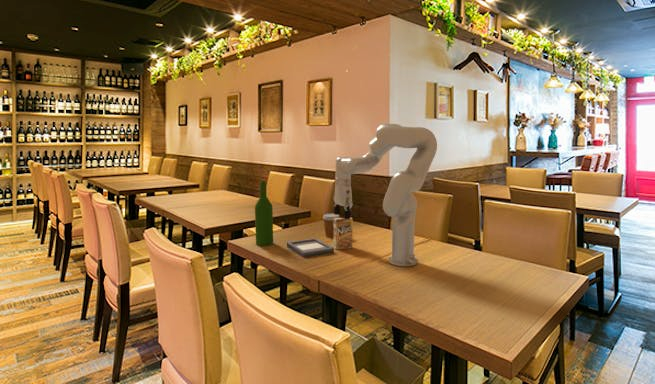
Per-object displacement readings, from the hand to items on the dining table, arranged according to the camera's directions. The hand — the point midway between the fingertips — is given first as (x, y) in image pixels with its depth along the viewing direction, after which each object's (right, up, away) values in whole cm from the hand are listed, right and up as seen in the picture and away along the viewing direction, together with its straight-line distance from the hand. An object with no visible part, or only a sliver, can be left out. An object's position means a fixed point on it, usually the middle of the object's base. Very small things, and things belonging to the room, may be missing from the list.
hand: (342, 216), depth 200 cm
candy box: (0, -16, +2) cm, 16 cm away
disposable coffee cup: (-5, -13, +25) cm, 28 cm away
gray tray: (-16, -16, -1) cm, 23 cm away
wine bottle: (-40, -15, +10) cm, 44 cm away
